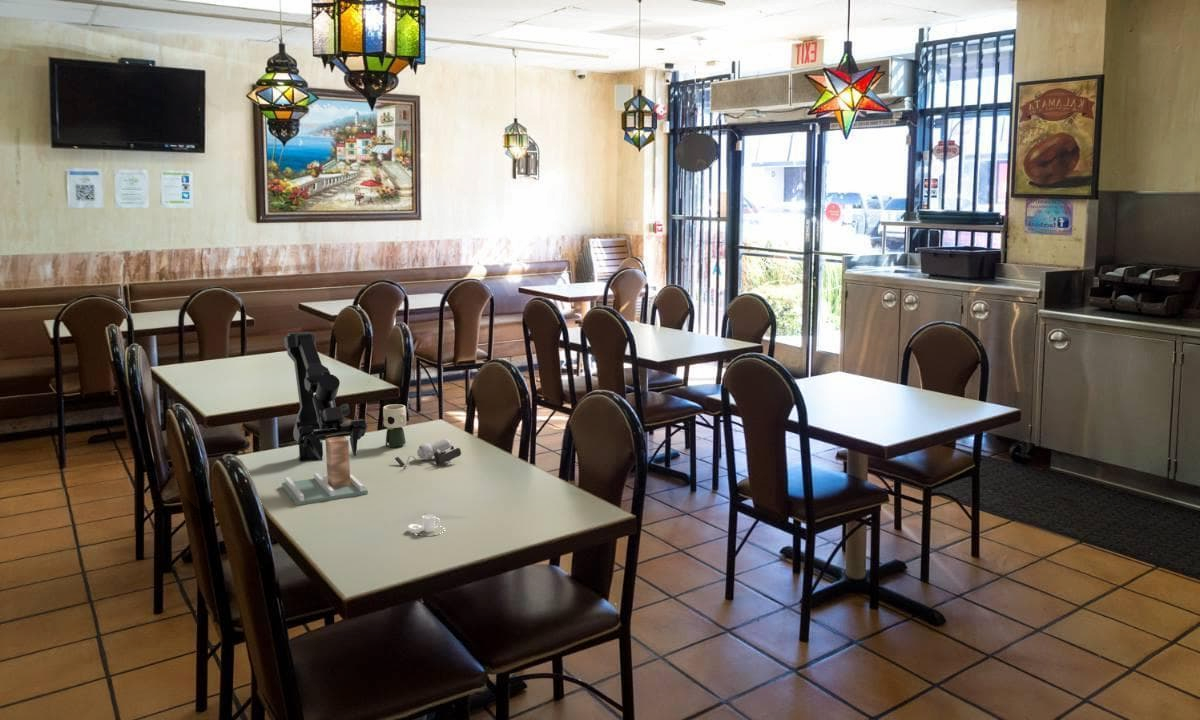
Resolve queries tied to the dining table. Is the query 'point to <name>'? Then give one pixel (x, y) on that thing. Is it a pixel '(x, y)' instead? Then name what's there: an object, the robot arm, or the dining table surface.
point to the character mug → (394, 424)
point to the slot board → (320, 489)
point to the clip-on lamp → (435, 452)
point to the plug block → (338, 461)
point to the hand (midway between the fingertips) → (338, 457)
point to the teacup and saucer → (425, 524)
